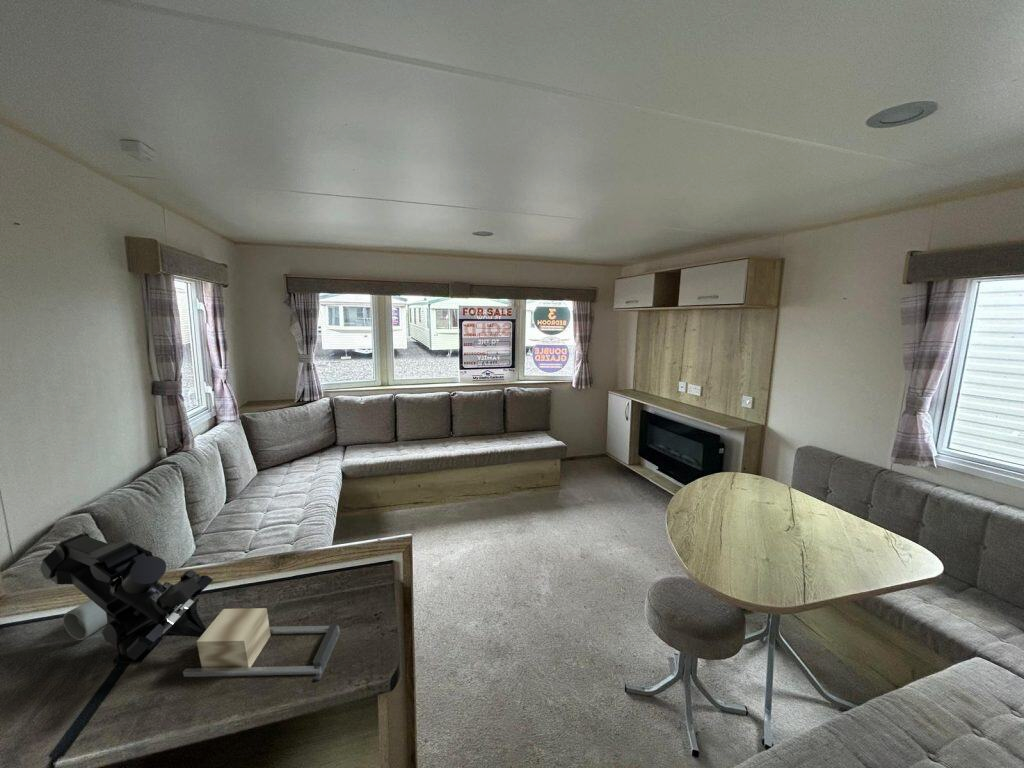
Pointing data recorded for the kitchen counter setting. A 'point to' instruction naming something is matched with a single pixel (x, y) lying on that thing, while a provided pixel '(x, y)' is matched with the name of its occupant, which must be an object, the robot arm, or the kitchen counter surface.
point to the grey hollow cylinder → (84, 620)
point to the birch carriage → (234, 638)
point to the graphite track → (317, 669)
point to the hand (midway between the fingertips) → (205, 634)
